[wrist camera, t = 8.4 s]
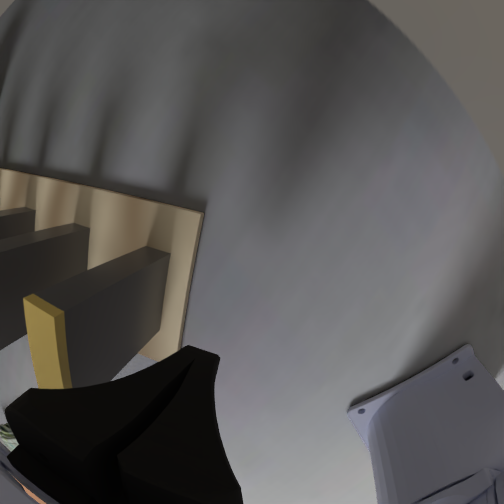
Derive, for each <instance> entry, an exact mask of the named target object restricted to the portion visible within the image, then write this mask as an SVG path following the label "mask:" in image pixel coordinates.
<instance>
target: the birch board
mask: <svg viewBox="0 0 504 504" xmlns="http://www.w3.org/2000/svg"><path fill="white" fill-rule="evenodd" d="M19 207H27V208H30V209H33V210H36V215H35V231H38V230H43V229H47V228H51V227H56V226H61V225H65V224H70V223H76V224H79V225H82V226H85V227H88V228H90V236H89V249H88V266H87V270H89V269H91V268H94V267H96V266H98V265H101V264H103V263H105V262H108V261H110V260H113V259H115V258H117V257H120V256H122V255H125V254H127V253H130V252H132V251H135V250H137V249H139V248H142V247H144V246H148V247H152V248H155V249H158V250H161V251H164V252H168V253H171V255H170V261H169V268H168V274H167V280H166V287H165V294H164V301H163V309H162V316H161V325H160V331H159V332H158V333H157V334H156V335H155V336H154V337H153V338H152V339H151V340H150V341H149V342H148V343H147V344H146V345H145V346H144V347H143V348H142V349H141V350H140V351H139V352H138V353H139V354H141V355H143V356H146V357H148V358H151V359H153V360H155V361H158V362H159V361H161V360H163V359H165V358H167V357H168V356H170V355H172V354H173V353H175V352H177V351H178V350H180V349H181V342H182V335H183V328H184V322H185V316H186V309H187V303H188V297H189V291H190V286H191V280H192V274H193V269H194V263H195V258H196V253H197V248H198V242H199V237H200V232H201V227H202V222H203V218H204V213H202V212H198V211H194V210H190V209H186V208H182V207H178V206H174V205H170V204H166V203H161V202H157V201H153V200H149V199H145V198H140V197H136V196H132V195H127V194H123V193H119V192H114V191H110V190H105V189H101V188H96V187H92V186H87V185H82V184H78V183H73V182H68V181H64V180H59V179H54V178H49V177H44V176H40V175H35V174H30V173H25V172H19V171H14V170H9V169H4V168H0V211H1V210H7V209H13V208H19Z"/></svg>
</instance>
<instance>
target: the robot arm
mask: <svg viewBox="0 0 504 504" xmlns="http://www.w3.org/2000/svg"><path fill="white" fill-rule="evenodd" d="M455 358H456V359H455ZM454 359H455V360H454ZM453 360H454V361H453ZM219 361H220V357H219V356H218V355H217V354H214V353H211V352H208V351H205V350H202V349H199V348H196V347H193V346H190V345H187V346H185V347H183V348H182V349H180V350H178V351H177V352H175V353H173V354H172V355H170V356H168V357H167V358H165V359H163V360H161V361H159V362H157V363H155V364H153V365H152V366H150V367H147V368H145V369H143V370H141V371H138V372H136V373H134V374H131V375H129V376H126V377H123V378H120V379H117V380H114V381H110V382H106V383H101V384H97V385H92V386H86V387H78V388H67V389H39V388H30V389H29V390H27V391H26V392H25V393H23V394H22V395H21V396H20V397H18V398H17V399H16V400H15V401H14V402H12V403H11V404H10V405H9V406H8V407H6V409H5V416H6V419H7V422H8V424H9V426H10V428H11V430H12V432H13V434H14V436H15V438H16V440H17V442H18V444H19V445H18V446H17V447H16V448H15V449H14V450H13V451H12V452H11V451H10V450H8V449H7V448H6V447H5V446H4V445H3V444H2V443H1V442H0V504H39V503H38V502H37V501H36V500H34V499H33V498H32V497H30V496H29V495H28V494H27V493H26V492H25V490H24V488H23V487H22V485H24V486H25V487H26V488H27V489H28V490H30V491H31V492H32V493H34V494H35V495H36V496H37V497H39V498H40V499H41V500H43V501H44V502H46V503H47V504H243V499H242V493H241V487H240V485H239V483H238V481H237V479H236V477H235V475H234V473H233V471H232V469H231V466H230V464H229V461H228V459H227V456H226V453H225V450H224V447H223V444H222V440H221V437H220V433H219V428H218V423H217V418H216V410H215V398H214V383H215V378H216V374H217V370H218V366H219ZM362 408H363V410H359V409H362ZM347 416H348V418H349V419H350V421H351V423H352V424H353V426H354V427H355V429H356V431H357V432H358V434H359V436H360V437H361V439H362V440H363V442H364V444H365V445H366V447H367V448H368V450H369V452H370V455H371V461H372V467H373V473H374V480H375V487H376V494H377V502H378V504H504V390H503V389H502V388H501V387H500V385H499V384H498V383H497V382H496V380H495V379H494V378H493V377H492V375H491V374H490V373H489V372H488V371H487V369H486V368H485V367H484V366H483V365H482V363H481V362H480V361H479V360H478V359H477V358H476V356H475V355H474V350H473V347H472V346H471V345H470V344H466V345H464V346H463V347H461V348H460V349H458V350H457V351H455V352H453V353H452V354H450V355H449V356H447V357H446V358H444V359H442V360H441V361H439V362H438V363H436V364H434V365H433V366H431V367H429V368H428V369H426V370H424V371H422V372H421V373H419V374H417V375H415V376H413V377H412V378H410V379H408V380H406V381H404V382H402V383H400V384H398V385H396V386H395V387H393V388H391V389H389V390H387V391H384V392H382V393H380V394H378V395H376V396H374V397H372V398H370V399H367V400H365V401H363V402H361V403H359V404H356V405H354V406H352V407H350V408H349V409H348V410H347ZM15 478H16V479H17V480H18V481H19V482H20V483H21V484H22V485H21V484H20V483H19V482H18V481H17V480H16V479H15Z"/></svg>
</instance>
